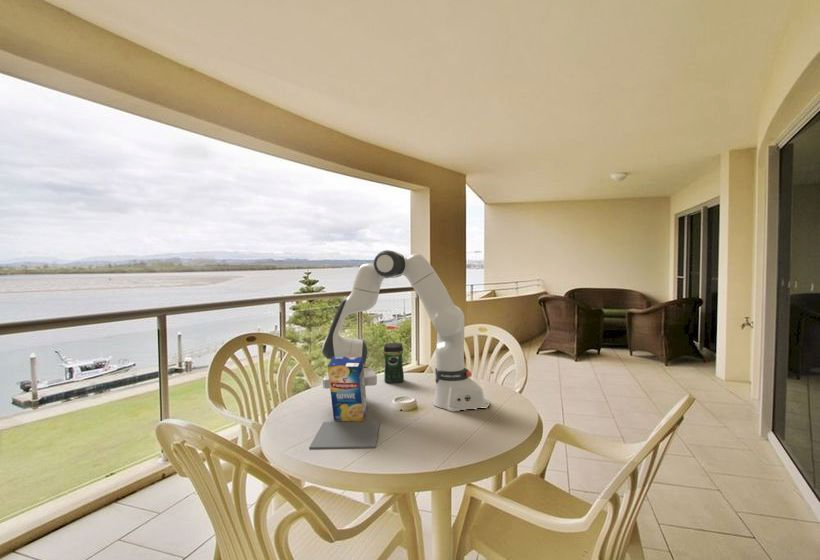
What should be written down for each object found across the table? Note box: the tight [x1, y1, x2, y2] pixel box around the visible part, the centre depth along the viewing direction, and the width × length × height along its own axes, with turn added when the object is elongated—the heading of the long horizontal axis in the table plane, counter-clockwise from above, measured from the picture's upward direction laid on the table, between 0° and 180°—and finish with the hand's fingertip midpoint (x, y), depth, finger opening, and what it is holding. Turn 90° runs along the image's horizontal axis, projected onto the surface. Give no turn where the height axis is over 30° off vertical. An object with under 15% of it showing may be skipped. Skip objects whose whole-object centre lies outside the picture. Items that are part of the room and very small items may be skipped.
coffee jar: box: [383, 342, 405, 384], centre depth 185 cm, size 10×8×19 cm
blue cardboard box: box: [326, 357, 368, 422], centre depth 137 cm, size 7×11×22 cm, turn 84°
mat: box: [309, 420, 381, 450], centre depth 126 cm, size 20×19×1 cm
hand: (350, 386), depth 139 cm, fingers closed
